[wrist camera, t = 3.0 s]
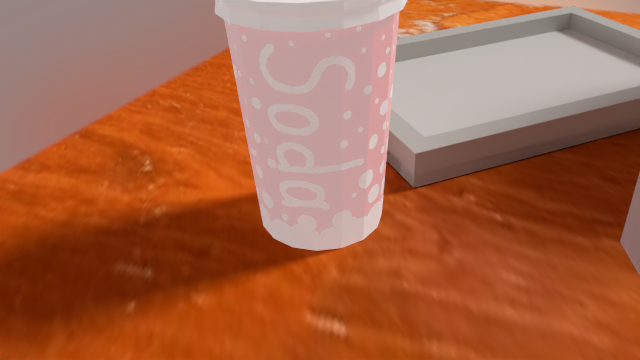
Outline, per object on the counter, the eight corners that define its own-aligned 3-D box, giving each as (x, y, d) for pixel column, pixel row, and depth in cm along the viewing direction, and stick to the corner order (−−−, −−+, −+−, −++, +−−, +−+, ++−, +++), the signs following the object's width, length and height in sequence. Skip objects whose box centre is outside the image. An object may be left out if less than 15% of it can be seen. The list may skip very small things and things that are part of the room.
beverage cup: (209, 237, 22) (129, -216, 15) (290, 159, 27) (261, -219, 19) (363, 284, 20) (359, -232, 12) (423, 189, 24) (447, -230, 17)
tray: (569, 30, 39) (573, 6, 38) (739, 101, 30) (750, 70, 29) (308, 82, 34) (307, 54, 33) (413, 187, 25) (415, 153, 24)
